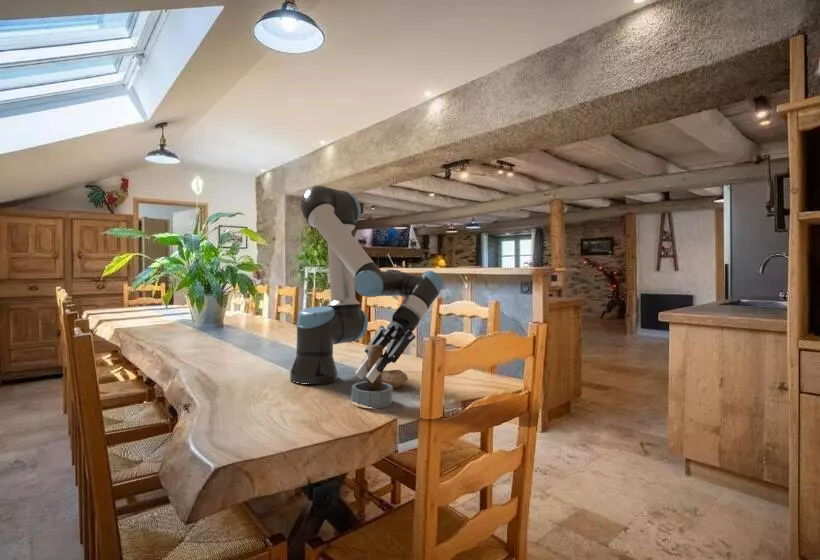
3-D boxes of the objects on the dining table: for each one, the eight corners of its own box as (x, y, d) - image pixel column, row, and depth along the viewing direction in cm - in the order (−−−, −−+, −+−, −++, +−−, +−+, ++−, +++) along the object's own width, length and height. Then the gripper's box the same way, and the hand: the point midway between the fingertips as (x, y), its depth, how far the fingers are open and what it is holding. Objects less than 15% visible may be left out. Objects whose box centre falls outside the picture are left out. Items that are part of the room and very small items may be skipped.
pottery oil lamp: (375, 378, 144) (386, 360, 145) (403, 397, 138) (414, 378, 139) (362, 374, 137) (374, 355, 137) (391, 394, 130) (403, 373, 131)
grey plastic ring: (345, 406, 115) (345, 389, 115) (360, 395, 126) (361, 379, 126) (384, 411, 113) (384, 394, 112) (396, 399, 123) (397, 383, 123)
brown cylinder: (364, 390, 118) (366, 346, 118) (369, 386, 122) (371, 344, 122) (378, 391, 117) (380, 347, 117) (383, 388, 121) (384, 345, 121)
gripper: (436, 325, 124) (392, 393, 113) (395, 319, 136) (352, 379, 125) (424, 308, 120) (377, 376, 109) (383, 303, 132) (337, 363, 121)
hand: (363, 377), depth 117 cm, fingers closed on brown cylinder, 4 cm apart
